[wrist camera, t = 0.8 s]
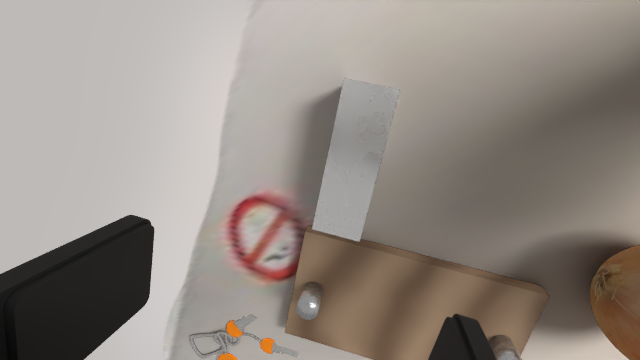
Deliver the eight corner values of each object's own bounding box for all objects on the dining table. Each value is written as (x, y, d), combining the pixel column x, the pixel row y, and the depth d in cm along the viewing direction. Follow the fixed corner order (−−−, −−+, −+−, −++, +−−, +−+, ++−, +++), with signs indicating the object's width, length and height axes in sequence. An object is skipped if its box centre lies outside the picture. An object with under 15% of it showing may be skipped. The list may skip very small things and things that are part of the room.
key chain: (211, 376, 38) (207, 382, 37) (185, 327, 36) (180, 332, 36) (302, 356, 35) (300, 363, 34) (277, 303, 33) (274, 308, 32)
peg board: (540, 285, 27) (571, 320, 23) (493, 384, 31) (512, 430, 26) (308, 225, 30) (297, 245, 25) (288, 322, 33) (275, 355, 29)
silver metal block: (395, 91, 25) (400, 89, 21) (362, 218, 29) (359, 241, 24) (349, 82, 26) (343, 77, 21) (322, 208, 29) (311, 229, 25)
